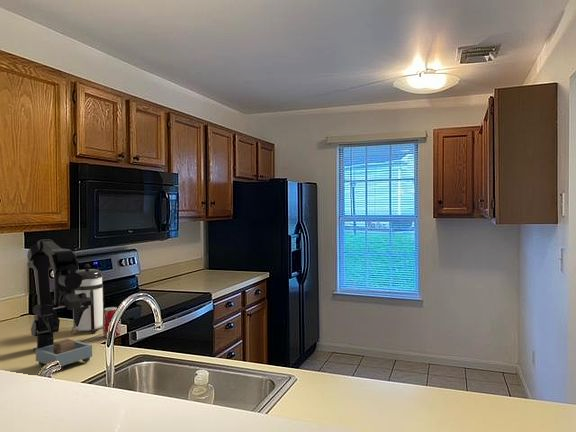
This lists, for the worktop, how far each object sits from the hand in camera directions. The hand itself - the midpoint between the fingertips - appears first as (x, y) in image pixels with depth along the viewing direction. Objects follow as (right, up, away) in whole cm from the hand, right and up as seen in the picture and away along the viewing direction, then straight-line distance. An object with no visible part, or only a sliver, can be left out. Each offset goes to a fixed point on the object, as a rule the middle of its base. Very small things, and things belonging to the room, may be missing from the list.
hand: (64, 329), depth 158 cm
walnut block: (+1, -9, -2) cm, 9 cm away
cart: (+1, -12, -2) cm, 12 cm away
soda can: (+4, -11, +32) cm, 34 cm away
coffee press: (-10, -11, +42) cm, 45 cm away
